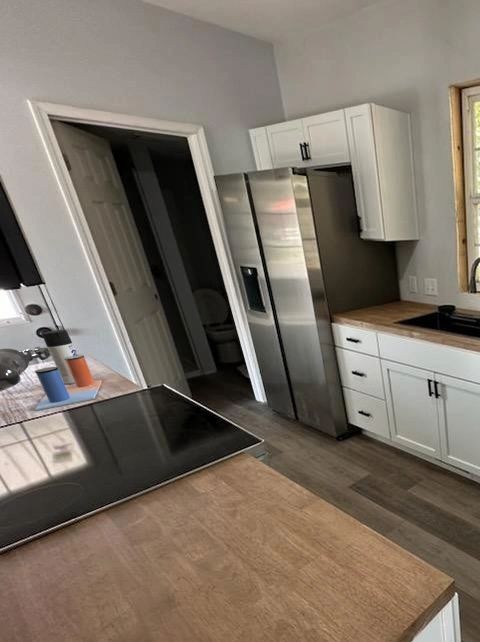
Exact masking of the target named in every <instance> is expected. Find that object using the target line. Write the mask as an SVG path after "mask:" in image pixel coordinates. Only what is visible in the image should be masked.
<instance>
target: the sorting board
mask: <svg viewBox="0 0 480 642" xmlns="http://www.w3.org/2000/svg"><path fill="white" fill-rule="evenodd" d="M94 382H95V384H93V385H90V386H85V387H77V386H76V384H71V385H68V386H65V387H66V389H67V391H68V393H69V396H70V398H69V399H67V400H64V401H60V402H54V403H51V402H49V400H48V398H47V396H46V394H44V396H43V397H42V399H41V400H40V401H39V403H38V404H37V406H36V407H35V408H34V411H36V412H37V411H41V410H47V409H52V408H57V407H62V406H67V405H73V404H77V403H82V402H87V401H93V400H95V398H96V397H97V394H98V392H99V389H100V387H101V384H102V383H103V381H102V380H96V381H95V380H94Z"/></svg>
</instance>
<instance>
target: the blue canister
mask: <svg viewBox="0 0 480 642" xmlns="http://www.w3.org/2000/svg"><path fill="white" fill-rule="evenodd" d="M34 373H35V374H36V377H37V379H38V380H39V383H40V386H41V387H42V389H43V391H44V393H45V395H46V396H47V398H48V400H49V402H51V403H54V402H60V401H64V400H67V399H69V398H70V396H69V393H68V391H67V389H66V387H67V386H66V384H65V383H64V382H63V379H62V377H61V375H60V373H59V371H58V368H57V367H56V366H49V367H43V368H39V369H36V370H34Z"/></svg>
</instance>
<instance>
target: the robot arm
mask: <svg viewBox="0 0 480 642" xmlns="http://www.w3.org/2000/svg"><path fill="white" fill-rule="evenodd" d="M49 357H52V356H51V354H50V352H49V349H48V347H47V346H46V347H45V346H44V347H40V346H36V347H34V348H33V349H31V348H27V349H22V350H18V349H14V348H0V393H1V392H3V391H6V390H8V389H10V388H12V387H15V386H16V385H18V384H19V383H20V382H21V380H22V378H21V375H22V374H23V373H24V372H25V371H26V370H27V369H28V367H29V366H30V365H29V364H30V362H31V363H32V362H34V361H36V360H37V359H39V360H40V361H46V360H47V359H49Z"/></svg>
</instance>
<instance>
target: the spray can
mask: <svg viewBox="0 0 480 642" xmlns="http://www.w3.org/2000/svg"><path fill="white" fill-rule="evenodd" d="M41 336H42V338H43V341H44V343H45V345H46V348H48V350H49V352H50V354H51V356H50V357H51V358H52V360H53V363H54V364H55V367H57V368H58V371H59V373H60V375H61V378H62V380H63V382H64V384H65V385H75V382H74V380H73V377H72V375H71V373H70V371H69V368H68V366H67V364H66V361H65V360H64V358H66V357H69V356H74V355H78V352H77V350H76V348H75V346H74V344H73V341H72V339H71V337H70V334H69V333H68V331H67V329H56V330H49V331H44V332H43V333H41Z"/></svg>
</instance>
